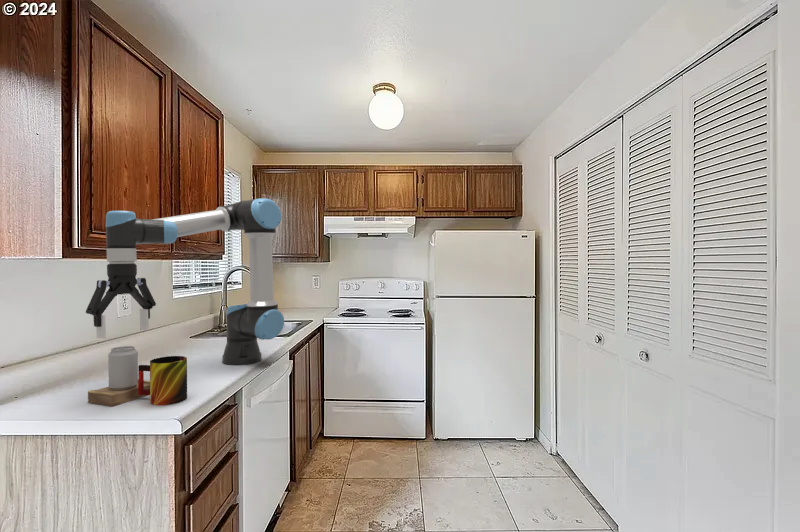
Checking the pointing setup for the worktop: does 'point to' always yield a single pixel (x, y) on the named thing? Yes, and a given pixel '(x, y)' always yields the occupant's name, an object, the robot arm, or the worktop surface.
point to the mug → (165, 380)
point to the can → (123, 367)
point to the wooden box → (115, 395)
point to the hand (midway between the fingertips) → (123, 333)
